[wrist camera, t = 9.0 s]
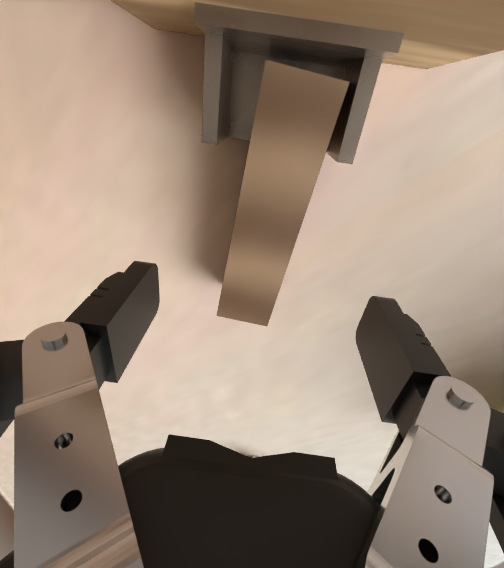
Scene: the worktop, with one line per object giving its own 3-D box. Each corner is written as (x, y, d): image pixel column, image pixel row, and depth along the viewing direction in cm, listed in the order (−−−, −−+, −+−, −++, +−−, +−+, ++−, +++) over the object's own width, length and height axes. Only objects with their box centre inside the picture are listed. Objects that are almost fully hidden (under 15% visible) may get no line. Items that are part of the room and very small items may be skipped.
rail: (268, 63, 17) (265, 59, 13) (335, 81, 17) (349, 81, 14) (224, 285, 26) (216, 315, 22) (268, 295, 26) (267, 326, 23)
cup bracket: (335, 151, 20) (361, 171, 14) (217, 134, 20) (192, 146, 14) (358, 59, 17) (404, 33, 11) (222, 38, 17) (194, 2, 11)
